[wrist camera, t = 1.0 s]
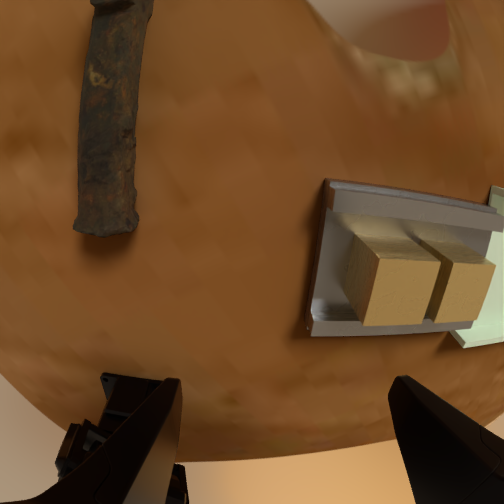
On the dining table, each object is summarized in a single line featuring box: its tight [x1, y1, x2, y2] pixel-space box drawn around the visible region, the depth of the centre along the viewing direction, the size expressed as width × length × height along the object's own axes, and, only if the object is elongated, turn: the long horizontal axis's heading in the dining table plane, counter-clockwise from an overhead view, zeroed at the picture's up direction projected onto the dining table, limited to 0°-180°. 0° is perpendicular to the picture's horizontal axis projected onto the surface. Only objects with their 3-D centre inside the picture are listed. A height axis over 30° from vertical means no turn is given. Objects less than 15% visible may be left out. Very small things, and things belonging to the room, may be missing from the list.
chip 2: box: [420, 239, 496, 323], centre depth 18 cm, size 4×4×4 cm
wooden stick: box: [73, 0, 154, 237], centre depth 14 cm, size 19×4×5 cm, turn 172°
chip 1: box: [343, 234, 441, 326], centre depth 18 cm, size 4×4×4 cm
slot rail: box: [304, 178, 504, 336], centre depth 20 cm, size 10×14×2 cm
